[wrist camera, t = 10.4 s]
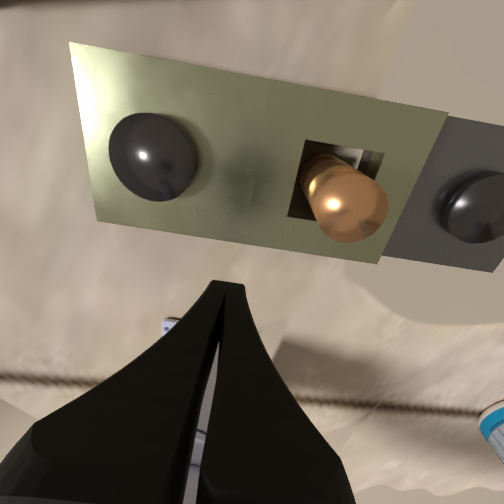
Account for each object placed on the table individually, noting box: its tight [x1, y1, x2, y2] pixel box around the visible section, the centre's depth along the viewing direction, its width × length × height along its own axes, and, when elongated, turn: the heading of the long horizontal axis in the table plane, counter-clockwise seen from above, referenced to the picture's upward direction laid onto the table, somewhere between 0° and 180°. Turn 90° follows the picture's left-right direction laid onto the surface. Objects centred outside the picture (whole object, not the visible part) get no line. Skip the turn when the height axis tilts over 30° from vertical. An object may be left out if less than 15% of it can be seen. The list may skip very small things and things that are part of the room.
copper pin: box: [300, 153, 389, 243], centre depth 14 cm, size 3×3×7 cm
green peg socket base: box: [69, 42, 504, 273], centre depth 15 cm, size 9×28×4 cm, turn 81°
